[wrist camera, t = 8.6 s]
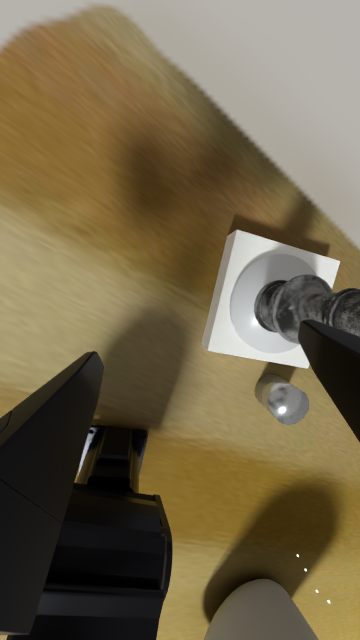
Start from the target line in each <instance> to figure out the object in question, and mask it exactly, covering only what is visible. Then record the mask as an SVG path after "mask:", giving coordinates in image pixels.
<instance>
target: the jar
mask: <svg viewBox="0 0 360 640" xmlns="http://www.w3.org/2000/svg"><path fill="white" fill-rule="evenodd" d="M297 557H299V555H298V554H297ZM304 570H305V572H306V571H307V570H306V569H304ZM316 592H317V593H318V590H316ZM328 603H329V604H330V601H329V600H328ZM204 640H318V638H317V637H316V635H315V633H314V632H313V630H312V629H311V627H310V626H309V624H308V623H307V621H306V620H305V618H304V617H303V615H302V614H301V612H300V611H299V609H298V608H297V606H296V605H295V603H294V602H293V600H292V599H291V597H290V596H289V595H288V593H287V592H286V591H285V589H284V588H283V587H282V586H281V585H279V584H278V583H276V582H274V581H272V580H269V579H257V580H253V581H250V582H247V583H245V584H243V585H241V586H240V587H238V588H237V589H236V590H234V591H233V592H232V593H231V594H230V595H229V596H228V597H227V598H226V599H225V600H224V602H223V603H222V604H221V606H220V607H219V609H218V610H217V612H216V613H215V615H214V617H213V619H212V621H211V623H210V625H209V628H208V630H207V632H206V635H205V638H204Z"/></svg>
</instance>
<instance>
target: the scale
mask: <svg viewBox="0 0 360 640" xmlns="http://www.w3.org/2000/svg"><path fill="white" fill-rule="evenodd" d="M339 264H340V261H338V260H334V259H331V258H328V257H325V256H321V255H318V254H315V253H312V252H308V251H305V250H302V249H299V248H295V247H292V246H289V245H286V244H282V243H279V242H276V241H273V240H269V239H266V238H263V237H260V236H257V235H253V234H250V233H247V232H244V231H240V230H236V231H234V232H232V233H231V234H229V235H228V236H227V239H226V243H225V247H224V251H223V256H222V260H221V264H220V268H219V272H218V276H217V281H216V285H215V289H214V293H213V297H212V301H211V305H210V310H209V314H208V318H207V322H206V326H205V330H204V335H203V339H202V343H201V345H202V346H203V347H204V348H205V349H206V350H207V351H212V352H218V353H223V354H229V355H235V356H240V357H246V358H251V359H257V360H263V361H268V362H274V363H279V364H285V365H290V366H296V367H302V368H307V369H308V367H309V361H308V359H307V357H306V355H305V353H304V351H303V349H302V347H301V345H300V344H296V343H291V342H289V341H287V340H286V339H284V338H283V337H282V336H281V335H280V334H279V333H278V332H277V333H274V332H270V331H267V330H265V329H264V328H262V327H261V326H260V324H259V323H258V321H257V320H256V318H255V313H254V303H255V300H256V297H257V295H258V293H259V291H260V290H261V289H262V288H263V287H264V286H265V285H266V284H268V283H270V282H272V281H275V280H286V281H289V280H291V279H292V278H294V277H297V276H300V275H315V276H318V277H320V278H322V279H323V280H325V281H326V282H327V283H328V285H329V286H330V287H331V289H332V287H333V284H334V280H335V277H336V274H337V270H338V267H339Z"/></svg>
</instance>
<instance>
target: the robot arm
mask: <svg viewBox="0 0 360 640" xmlns="http://www.w3.org/2000/svg"><path fill="white" fill-rule="evenodd" d="M298 341H299V343H300V345H301V347H302V349H303V351H304V353H305V355H306V357H307V359H308V361H309V363H310V365H311V367H312V369H313V371H314V373H315V374H316V376H317V378H318V379H319V381H320V382H321V384H322V385H323V387H324V388H325V390H326V391H327V393H328V394H329V396H330V397H331V399H332V401H333V402H334V404H335V405H336V407H337V408H338V410H339V411H340V413H341V414H342V416H343V417H344V419H345V420H346V422H347V423H348V425H349V427H350V428H351V430H352V431H353V433H354V434H355V436H356V437H357V439H358V440H359V442H360V336H357V335H354V334H351V333H349V332H346V331H343V330H340V329H338V328H335V327H332V326H329V325H327V324H324V323H321V322H318V321H316V320H313V319H308V320H302V321H301V322H300V324H299V331H298ZM103 370H104V366H103V363H102V361H101V359H100V357H99V355H98V353H97V352H96V351H92V352H87V353H85V354H84V355H82V356H81V357H80V358H79V359H77V360H76V361H75V362H73V363H72V364H71V365H69V366H68V367H67V368H65V369H64V370H63V371H62V372H60V373H59V374H58V375H56V376H55V377H54V378H52V379H51V380H50V381H48V382H47V383H46V384H45V385H43V386H42V387H41V388H39V389H38V390H37V391H35V392H34V393H33V394H31V395H30V396H29V397H28V398H26V399H25V400H24V401H22V402H21V403H20V404H18V405H17V406H16V407H15V408H13V410H11V411H9V412H8V413H7V414H5V415H4V416H3V417H1V418H0V635H8V637H7V640H156V637H157V630H158V624H159V618H160V614H161V610H162V605H163V601H164V600H165V597H166V594H167V591H168V587H169V583H170V576H171V568H172V536H171V531H170V527H169V524H168V521H167V517H166V514H165V511H164V508H163V504H162V501H161V498H160V495H155V494H154V495H153V496H152V495H146V494H140V493H139V473H140V469H141V464H142V460H143V455H144V451H145V446H146V442H147V437H148V433H147V431H146V430H140V429H130V428H123V427H113V426H97V425H91V423H92V419H93V416H94V412H95V409H96V406H97V402H98V398H99V393H100V387H101V381H102V376H103ZM90 430H93V431H90ZM142 434H144V436H141V435H142ZM80 461H81V463H80ZM79 464H80V468H79ZM78 468H79V473H78V478H77V481H76V483H74V481H75V478H76V474H77V471H78Z"/></svg>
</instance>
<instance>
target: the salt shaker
mask: <svg viewBox="0 0 360 640" xmlns="http://www.w3.org/2000/svg"><path fill="white" fill-rule="evenodd" d="M254 313H255V318H256V320H257V321H258V323H259V324H260V326H261V327H262V328H264V329H265V330H267V331H270V332H274V333H277V332H278V333H279V334H280V335H281V336H282V337H283V338H284V339H286V340H287V341H289V342H291V343H296V344H300V343H299V341H298V331H299V324H300V322H301V321H302V320H308V319H313V320H316V321H318V322H321V323H324V324H327V325H329V326H332V327H335V328H338V329H340V330H343V331H346V332H349V333H351V334H354V335H357V336H360V290H359V289H356V288H348V289H345V290H342V291H340V292H339V293H333V291H332V289H331V287H330V286H329V285H328V283H327V282H326V281H325V280H323V279H322V278H320V277H318V276H315V275H300V276H297V277H294V278H292V279H291V280H289V281H286V280H275V281H272V282H270V283H268V284H266V285H265V286H264V287H263V288H262V289H261V290H260V291H259V293H258V295H257V297H256V300H255V303H254Z"/></svg>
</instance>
